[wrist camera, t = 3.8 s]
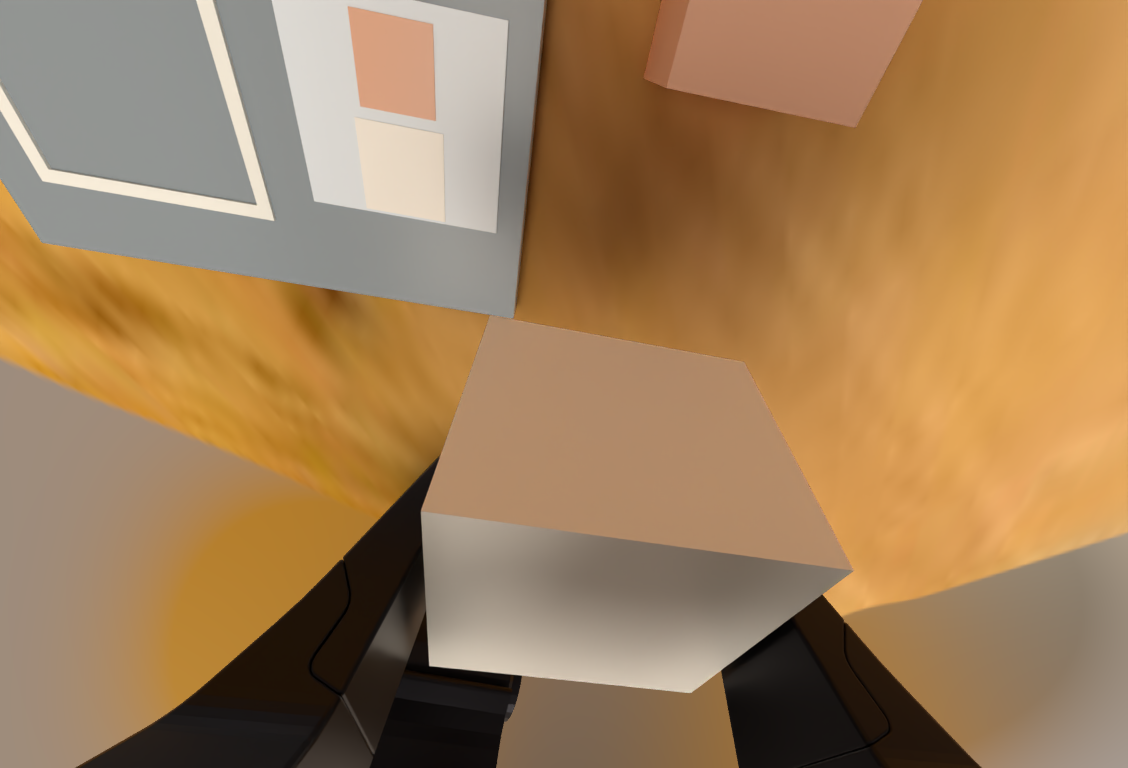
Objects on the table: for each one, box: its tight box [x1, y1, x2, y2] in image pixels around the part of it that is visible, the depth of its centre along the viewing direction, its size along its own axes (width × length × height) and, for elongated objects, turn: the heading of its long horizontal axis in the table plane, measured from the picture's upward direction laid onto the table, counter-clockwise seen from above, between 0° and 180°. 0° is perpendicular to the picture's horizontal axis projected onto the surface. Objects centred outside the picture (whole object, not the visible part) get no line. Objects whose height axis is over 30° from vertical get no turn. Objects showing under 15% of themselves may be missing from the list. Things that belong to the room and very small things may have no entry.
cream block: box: [421, 315, 854, 693], centre depth 9 cm, size 6×6×5 cm
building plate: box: [0, 0, 547, 318], centre depth 14 cm, size 14×20×1 cm
